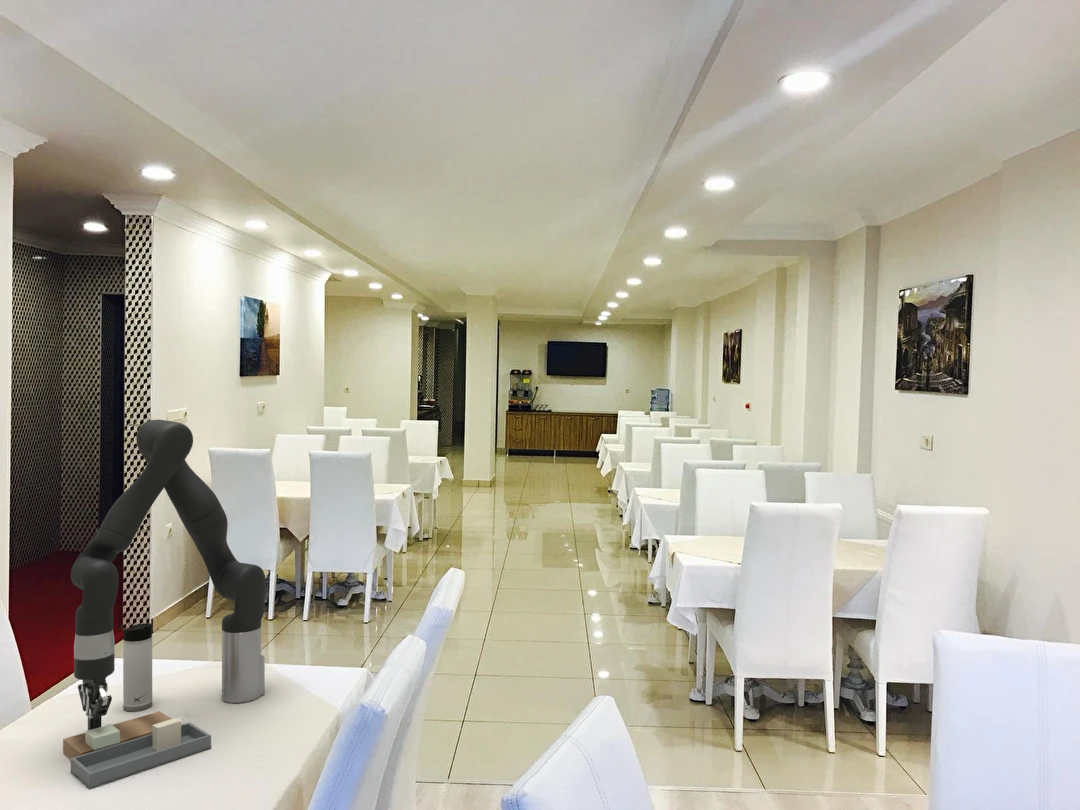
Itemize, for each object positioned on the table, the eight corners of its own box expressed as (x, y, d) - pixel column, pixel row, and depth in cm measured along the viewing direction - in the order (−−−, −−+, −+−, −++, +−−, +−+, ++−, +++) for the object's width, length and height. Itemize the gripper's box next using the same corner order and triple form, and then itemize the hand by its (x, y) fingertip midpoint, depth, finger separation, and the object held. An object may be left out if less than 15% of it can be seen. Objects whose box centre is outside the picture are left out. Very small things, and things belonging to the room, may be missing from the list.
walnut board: (159, 724, 186) (159, 711, 186) (179, 737, 179) (179, 723, 179) (63, 753, 171) (63, 739, 171) (80, 768, 164) (80, 753, 164)
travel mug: (141, 713, 192) (141, 628, 192) (117, 710, 194) (117, 627, 193) (159, 703, 198) (159, 621, 198) (135, 700, 200) (135, 619, 199)
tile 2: (175, 717, 176) (181, 720, 175) (175, 740, 177) (181, 743, 175) (152, 725, 173) (157, 728, 171) (152, 748, 173) (158, 751, 171)
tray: (189, 734, 181) (189, 722, 180) (211, 748, 174) (211, 735, 174) (70, 772, 163) (70, 758, 163) (89, 789, 156) (89, 774, 156)
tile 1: (110, 735, 173) (110, 724, 173) (120, 742, 170) (119, 730, 170) (85, 742, 169) (85, 731, 169) (94, 750, 166) (94, 738, 166)
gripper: (125, 655, 170) (125, 737, 171) (101, 641, 179) (101, 719, 180) (86, 664, 165) (86, 749, 165) (64, 649, 174) (64, 730, 174)
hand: (94, 733), depth 172 cm, fingers closed
